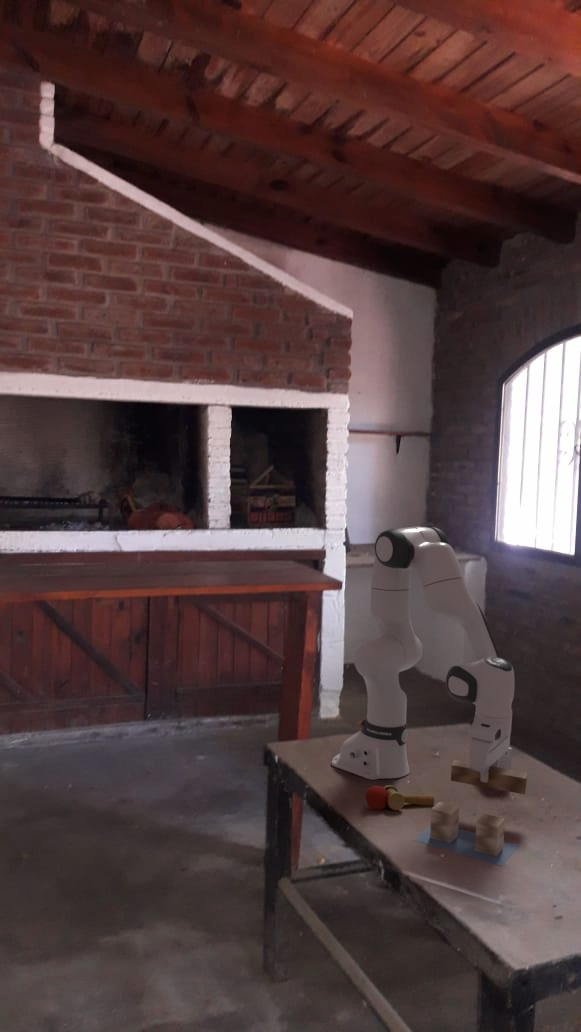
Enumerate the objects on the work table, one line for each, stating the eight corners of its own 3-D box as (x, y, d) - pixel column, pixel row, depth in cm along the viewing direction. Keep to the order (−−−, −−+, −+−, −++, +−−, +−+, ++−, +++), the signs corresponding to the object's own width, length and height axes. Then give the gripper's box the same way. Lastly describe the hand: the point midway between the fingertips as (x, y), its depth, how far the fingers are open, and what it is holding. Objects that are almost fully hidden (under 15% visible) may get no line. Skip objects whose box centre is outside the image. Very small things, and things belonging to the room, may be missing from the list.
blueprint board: (414, 842, 195) (414, 840, 195) (433, 824, 205) (434, 821, 205) (502, 868, 184) (502, 866, 184) (518, 847, 194) (518, 845, 194)
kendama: (424, 803, 221) (359, 798, 217) (429, 782, 219) (364, 776, 215) (433, 821, 213) (367, 815, 209) (439, 799, 212) (372, 793, 208)
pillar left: (430, 837, 197) (431, 808, 196) (438, 829, 201) (439, 801, 200) (450, 843, 194) (451, 814, 193) (457, 835, 198) (459, 806, 198)
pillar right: (474, 850, 191) (476, 821, 190) (482, 842, 195) (483, 813, 194) (496, 856, 188) (497, 826, 188) (503, 848, 192) (504, 818, 192)
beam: (450, 780, 209) (451, 765, 209) (453, 774, 213) (454, 759, 212) (524, 794, 203) (526, 778, 203) (526, 788, 207) (527, 772, 206)
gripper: (494, 710, 217) (490, 761, 218) (466, 731, 200) (461, 787, 201) (518, 715, 213) (513, 767, 215) (491, 738, 196) (487, 794, 198)
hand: (488, 777), depth 208 cm, fingers closed on beam, 4 cm apart
